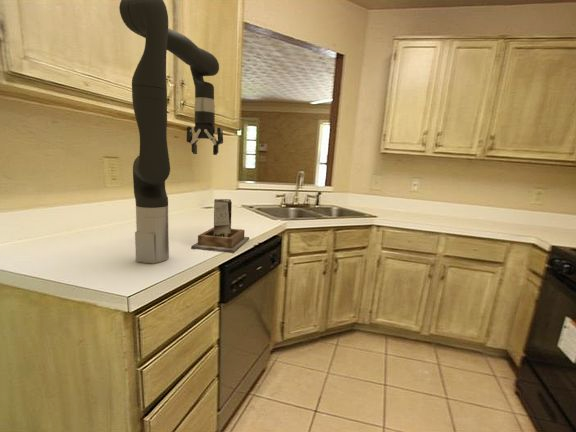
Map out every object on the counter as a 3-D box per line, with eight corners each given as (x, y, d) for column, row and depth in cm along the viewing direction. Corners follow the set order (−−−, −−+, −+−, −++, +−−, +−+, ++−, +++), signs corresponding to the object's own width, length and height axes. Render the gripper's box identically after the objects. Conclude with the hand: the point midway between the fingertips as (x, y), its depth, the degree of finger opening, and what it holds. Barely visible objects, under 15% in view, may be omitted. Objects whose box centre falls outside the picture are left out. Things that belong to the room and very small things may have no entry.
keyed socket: (249, 239, 128) (249, 228, 127) (233, 253, 109) (234, 240, 108) (212, 235, 130) (212, 225, 130) (191, 248, 111) (191, 236, 110)
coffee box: (230, 244, 116) (231, 202, 113) (213, 244, 114) (213, 201, 111) (230, 238, 124) (231, 198, 121) (213, 238, 123) (214, 198, 120)
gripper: (225, 113, 121) (225, 155, 124) (192, 112, 123) (192, 153, 126) (218, 110, 113) (218, 155, 116) (182, 109, 116) (183, 153, 119)
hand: (204, 154), depth 121 cm, fingers open, 8 cm apart
